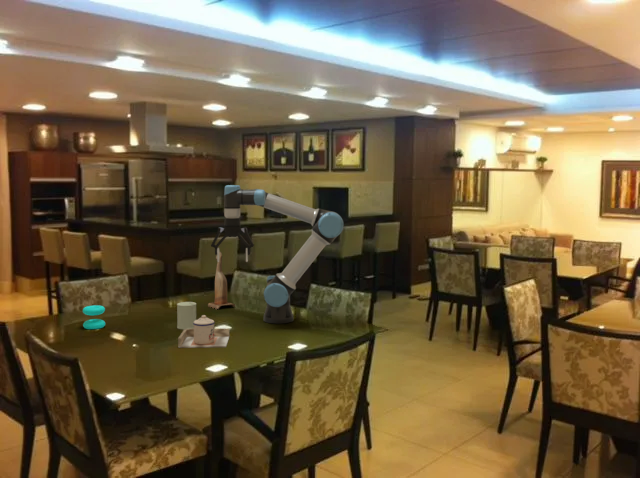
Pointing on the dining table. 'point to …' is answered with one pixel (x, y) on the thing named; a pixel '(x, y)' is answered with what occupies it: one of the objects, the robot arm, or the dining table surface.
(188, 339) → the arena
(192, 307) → the can
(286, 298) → the robot arm
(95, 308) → the donuts
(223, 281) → the bird sculpture
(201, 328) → the teacup with lid
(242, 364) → the dining table surface
